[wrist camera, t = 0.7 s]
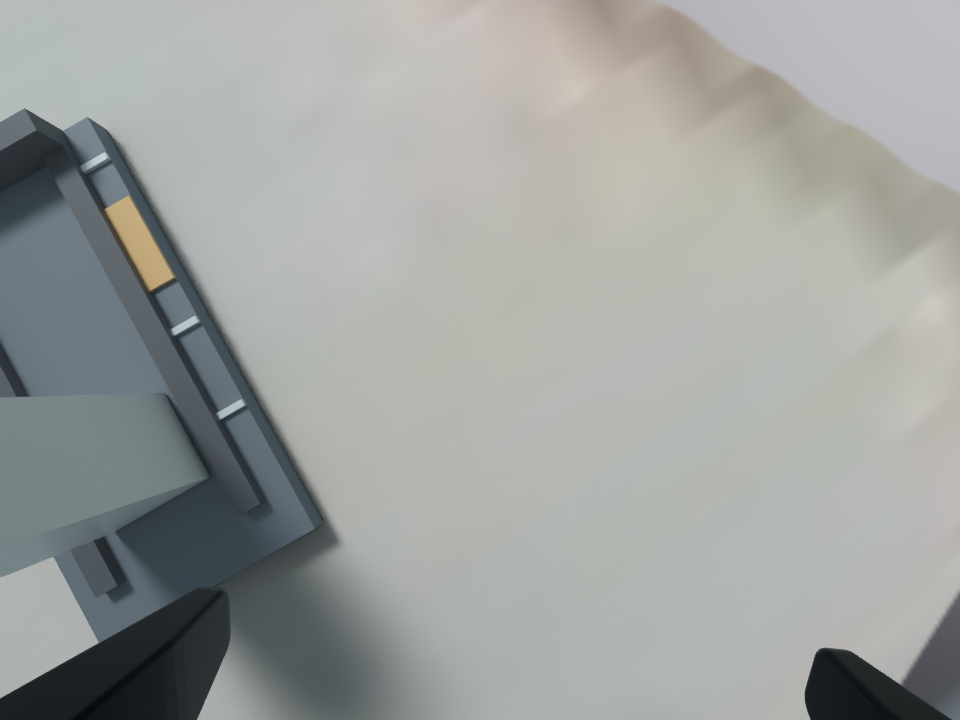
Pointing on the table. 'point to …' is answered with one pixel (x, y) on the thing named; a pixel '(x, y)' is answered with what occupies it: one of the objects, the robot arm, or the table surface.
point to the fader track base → (132, 368)
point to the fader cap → (85, 469)
